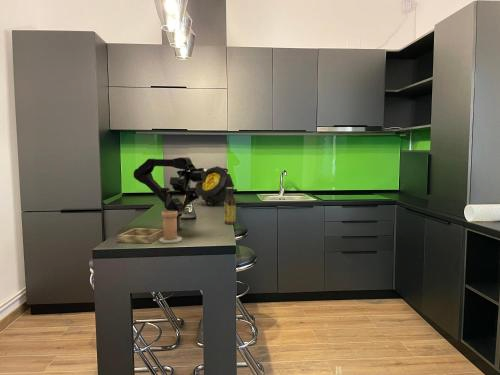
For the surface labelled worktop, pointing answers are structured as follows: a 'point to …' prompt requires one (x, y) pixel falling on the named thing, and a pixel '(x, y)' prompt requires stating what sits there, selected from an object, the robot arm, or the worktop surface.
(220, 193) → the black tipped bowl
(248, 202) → the worktop surface
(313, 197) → the worktop surface
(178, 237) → the ceramic saucer
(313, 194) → the worktop surface
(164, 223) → the terracotta pot
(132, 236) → the pine frame
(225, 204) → the sauce bottle
